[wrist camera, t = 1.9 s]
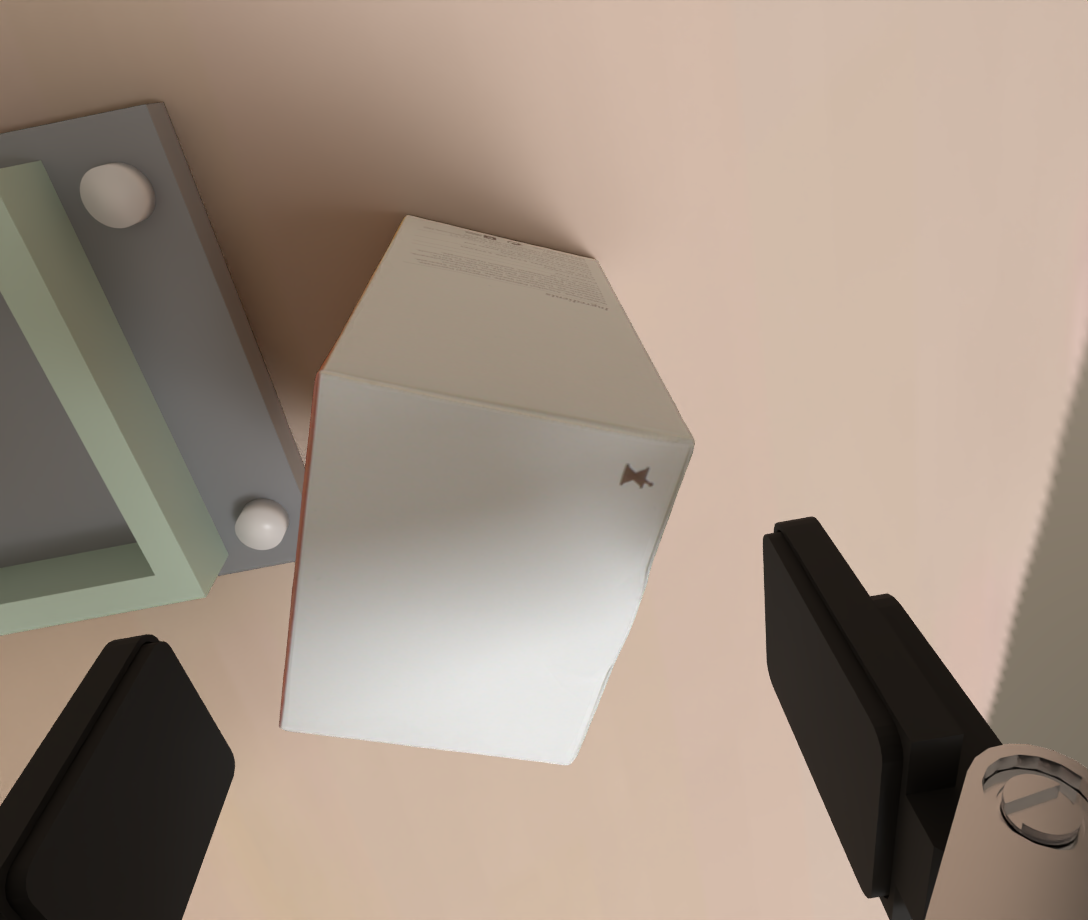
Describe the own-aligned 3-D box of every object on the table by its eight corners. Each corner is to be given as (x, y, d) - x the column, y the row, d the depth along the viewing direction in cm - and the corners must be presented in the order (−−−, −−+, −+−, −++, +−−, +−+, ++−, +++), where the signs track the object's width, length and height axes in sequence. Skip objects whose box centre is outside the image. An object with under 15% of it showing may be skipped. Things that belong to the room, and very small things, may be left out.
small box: (402, 210, 22) (311, 360, 11) (601, 256, 23) (710, 439, 12) (368, 442, 26) (272, 740, 14) (542, 473, 27) (581, 774, 15)
